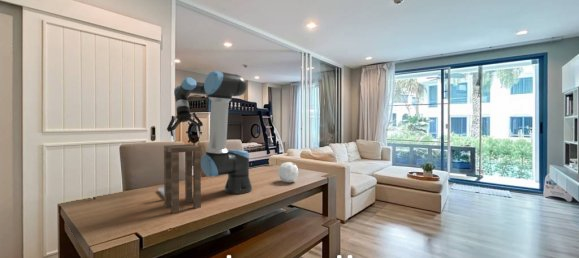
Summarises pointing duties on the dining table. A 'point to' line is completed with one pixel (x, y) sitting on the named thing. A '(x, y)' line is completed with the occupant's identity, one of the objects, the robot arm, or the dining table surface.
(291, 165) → the geodesic sphere
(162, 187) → the shelf bracket
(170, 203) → the plant stand
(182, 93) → the robot arm
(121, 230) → the dining table surface
